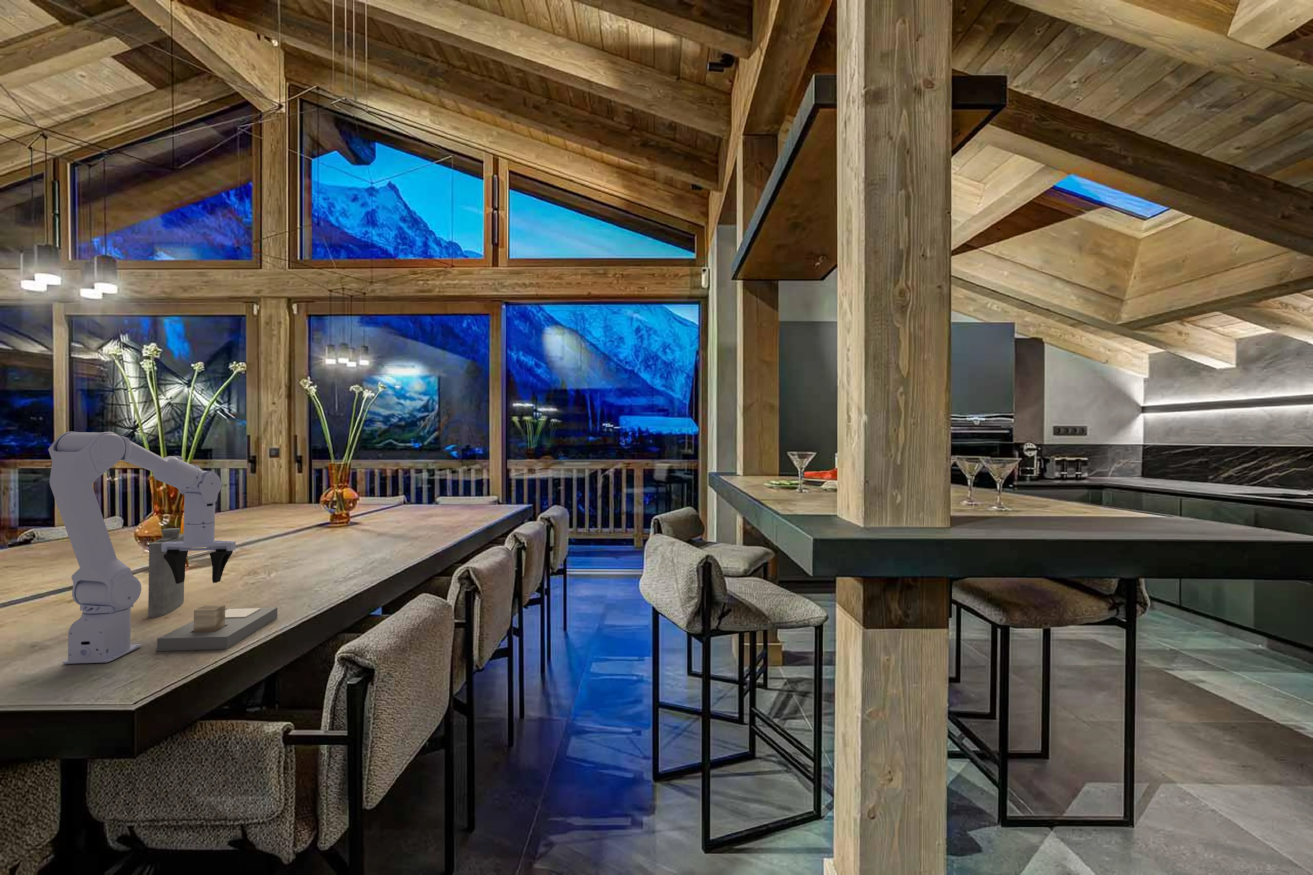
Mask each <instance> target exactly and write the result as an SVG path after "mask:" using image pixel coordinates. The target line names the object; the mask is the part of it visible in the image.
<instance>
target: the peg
mask: <svg viewBox="0 0 1313 875" xmlns="http://www.w3.org/2000/svg"><path fill="white" fill-rule="evenodd" d="M225 609H226V605H225V604H204V605H203V606H200V607H198V608H196V609H194V610H193V621H194V632H216V631H218V630H220V629H222V628H224V627H225Z"/></svg>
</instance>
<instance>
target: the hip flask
mask: <svg viewBox="0 0 1313 875" xmlns="http://www.w3.org/2000/svg"><path fill="white" fill-rule="evenodd" d="M180 532H181V528H180V527H178V528H177V527H176V528H175V527H174V528H173V527H169V528H163V529H161V533H162V537H161V538H159V539H157V540H156V541H153V542H152V541H151V542H150V543H149V544H148V549H149V550H148V595H147V596H148V597H147V599H148V600H147V603H148V604H147V606H148V609H147V615H148V616H147V617H148V618H151V617H153V618H160V617H164V616H166V615H168V614H170V613H172V612H174V611H175V610H177V609H178V608H180V607H181V606H183V604H184V602H185V581H184V582H182V583H179V584H176V582H175V578H174V575H173V572H172V570H171V568H170V566H169V564H168V563H167V561H166V560H165V559H164V554H166V552H167V551H166V552H162V551H161V546H162V543H165V542H178V541H184V533H180ZM173 610H174V611H173Z"/></svg>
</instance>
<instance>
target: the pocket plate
mask: <svg viewBox="0 0 1313 875" xmlns="http://www.w3.org/2000/svg"><path fill="white" fill-rule="evenodd" d="M276 619H278V607H276V606H275V607H238V608H236V607H235V608H231V607H230V608H225V627H224V628H222V629H220V630H218V631H216V632H194V620H193V621H191V622H189V623H186V624H184V625H183V626H179V627H178V628H176V629H174V630H172V631H170V632H168V633H166V634H163V635H161V636H160V637H158V638H156V639H157V640H156V641H157V644H156V651H157V652H166V651H167V652H168V651H170V652H171V651H195V650H196V651H197V650H201V651H202V650H203V651H204V650H228V649H229V648H231V647H232V646H235V645H236V644H237V643H239V642H240V641H242V640H244V639H245V638H247V637H249V636H250V635H252V634H254V633H256V632H257V631H259V630H261V629H262V628H264V627H265V626H267V625H269V624H270V623H271V622H273V621H274V620H275V621H276Z"/></svg>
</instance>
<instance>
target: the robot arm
mask: <svg viewBox="0 0 1313 875" xmlns="http://www.w3.org/2000/svg"><path fill="white" fill-rule="evenodd" d="M47 451H48V452H49V456H50V458H51V467H50V475H49V487H50V489H51V492H52V495H53V497H54V500H55V504H56V506H57V508H58V511H59V514H60V516H61V519H62V522H63V525H64V527H65V530H66V533H67V536H68V538H69V541H70V544H71V547H72V549H73V552H74V555H75V558H76V561H77V563H78V566H79V568H78V569H77V570H76V571H75V572H74V573H73V574H72V575H71V580H72V591H71V596H72V597H71V598H72V599H73V602H75V603H76V604H77V605H79V611H81V612H82V613H81V616H80V617H79V618H78V619H77V620H74V622H72V624H71V625H70V627H69V629H68V634H67V636H68V641H67V648H68V649H67V651H68V652H67V653H68V654H67V659H65V660H62V664H63V665H67V664H69V665H71V664H93V663H94V664H95V663H96V664H98V663H99V664H101V663H103V664H104V663H110V662H112V661H114V660H116V659H118V658H120V657H123V656H124V655H126V654H128V653H131V652H132V651H135V650H137V649H138V648H141V647H142V643H132V644H131V631H132V629H131V625H132V624H131V623H132V622H131V621H132V619H131V618H132V617H131V615H132V611H131V610H132V608H134V604H135V603H136V602H137V601H138V600H139V599H140V596H141V593H142V583H141V582H140V580H139V579H138V578H137V577H136V576H135V575H134V574H133V573H132V570H131V567H129V566H128V565H127V564H126V563H124V562H123V561H121V560H120V559H118V558H117V557H118V556H117V555H116V552H115V549H114V546H113V543H112V541H111V538H110V535H109V531H108V528H107V526H106V522H105V519H104V517H103V513H102V511H101V508H100V505H99V502H98V498H97V496H96V493H95V490H94V488H93V484H94V483H95V482H96V480H97V479H98V478H100V477H101V476H102V475H104V474H105V473H106V472H107V471H109V470H110V469H111V468H112V467H114V466H115V465H116V464H117V463H118V462H120V461H122V462H125V463H128V464H131V465H133V466H137V467H139V468H142V469H145V470H147V471H149V472H152V475H153V477H154V479H155V480H156V481H159V482H160V483H161V482H162V483H164V484H165V485H169V486H172V487H174V488H176V489H177V490H178V491H179V493H180V494H181V495H183V496H184V497H183V498H184V500H183V502H184V503H183V504H184V505H183V511H184V512H183V534H184V541H178V542H165V543H162V546H161V551H162V552H166V551H167V552H166V554H164V559H165V560H166V561H167V563H168V564H169V566H170V568H171V570H172V572H173V575H174V578H175V582H176V584H179V583H182V582H184V583H185V579H186V562H187V558H188V554H189V552H191V551H192V552H193V551H194V552H195V551H196V552H197V551H199V552H200V551H209V552H210V551H212V552H210V553H209V556H210V557H209V558H210V560H211V570H212V572H211V579H212V584H217V583H219V582H221V581H222V577H223V573H224V571H225V568H226V565H227V564H228V561H229V559H230V557H231V556H232V554H233V552H234V551H235V550H236V545H237V544H236V543H237V542H236V541H235V540H217V539H216V540H215V529H216V528H215V525H216V523H215V522H216V515H215V514H216V503H217V501H218V496H219V493H220V492H221V490H222V487H223V482H222V481H221V478H220V476H219V475H218V474H217V473H216V472H214V471H212V470H203V469H202V468H201V466H200V465H198V464H191V463H189V462H186V461H184V460H183V459H184V457H183V456H180V455H173V456H172V455H168V456H165V457H164V456H163V457H162V456H160V455H159V454H156V453H155V452H152V451H151V450H148V449H147V448H145V447H143V446H140V445H139V444H137V443H135V442H134V441H131V440H130V439H129V437H126V436H123V435H119V434H117V433H116V432H112V431H103V432H102V431H101V432H94V431H92V432H87V431H85V432H81V431H80V432H79V431H67V432H66V431H65V432H64V433H62V434H60V435H58V437H57V438H56V439H55V440H54V441H53V442H52V444H51V445H50V446H49V448H48V449H47Z"/></svg>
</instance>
